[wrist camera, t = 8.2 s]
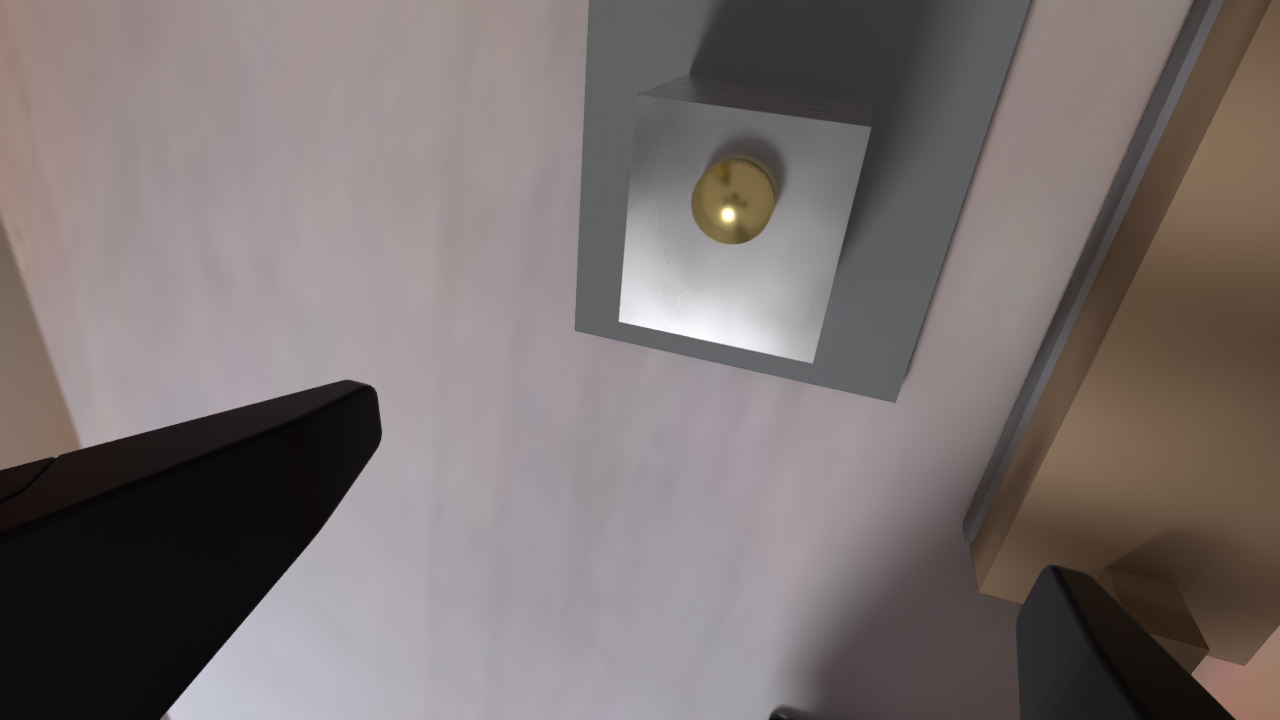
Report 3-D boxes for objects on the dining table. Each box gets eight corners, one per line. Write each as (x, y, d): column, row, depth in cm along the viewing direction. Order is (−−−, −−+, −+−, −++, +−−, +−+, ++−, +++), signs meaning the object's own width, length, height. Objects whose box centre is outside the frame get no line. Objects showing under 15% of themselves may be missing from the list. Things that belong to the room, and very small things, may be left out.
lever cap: (824, 288, 18) (810, 374, 14) (667, 258, 19) (611, 330, 15) (871, 96, 16) (871, 131, 12) (688, 72, 17) (628, 97, 13)
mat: (894, 392, 20) (895, 402, 19) (581, 323, 22) (574, 330, 21) (1037, -36, 14) (1042, -37, 14) (600, -73, 16) (592, -75, 16)
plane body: (1204, 582, 20) (1295, 741, 16) (959, 519, 21) (980, 649, 17) (1717, -117, 11) (2223, -188, 7) (1249, -142, 13) (1436, -211, 9)
